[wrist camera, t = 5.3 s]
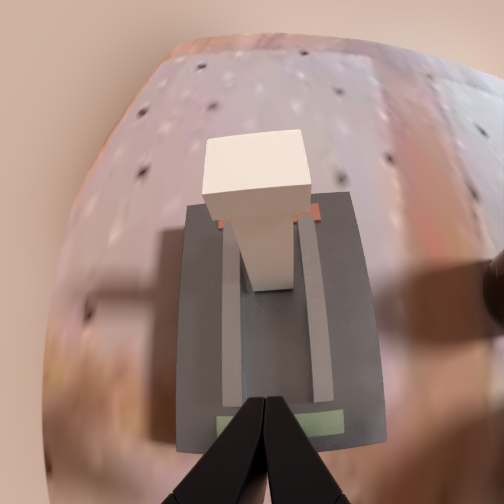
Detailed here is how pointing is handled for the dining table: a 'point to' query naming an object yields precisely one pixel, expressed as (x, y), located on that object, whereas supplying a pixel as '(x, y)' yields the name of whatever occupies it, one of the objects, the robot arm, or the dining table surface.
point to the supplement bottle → (495, 287)
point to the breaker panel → (279, 332)
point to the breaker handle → (259, 199)
